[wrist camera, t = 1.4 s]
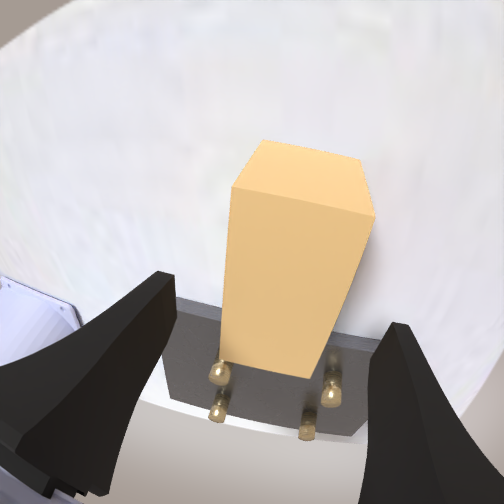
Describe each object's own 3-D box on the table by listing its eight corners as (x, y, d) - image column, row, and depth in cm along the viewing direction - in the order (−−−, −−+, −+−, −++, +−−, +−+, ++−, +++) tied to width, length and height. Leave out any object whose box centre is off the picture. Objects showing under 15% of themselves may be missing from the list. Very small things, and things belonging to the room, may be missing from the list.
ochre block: (244, 285, 18) (218, 359, 14) (263, 138, 13) (231, 186, 9) (317, 300, 17) (309, 378, 13) (359, 158, 12) (375, 216, 8)
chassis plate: (174, 389, 26) (162, 417, 24) (160, 292, 19) (139, 328, 17) (351, 426, 25) (349, 456, 22) (416, 346, 17) (422, 386, 15)
